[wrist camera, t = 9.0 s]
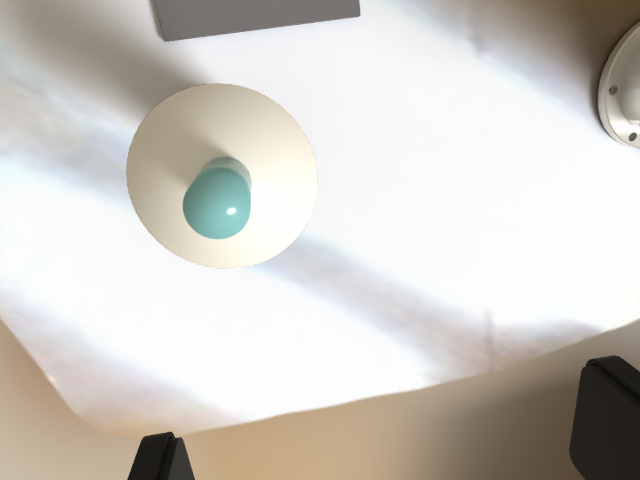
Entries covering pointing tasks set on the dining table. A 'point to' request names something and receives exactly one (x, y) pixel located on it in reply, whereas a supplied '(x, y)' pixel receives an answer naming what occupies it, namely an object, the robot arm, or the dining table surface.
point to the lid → (222, 176)
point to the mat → (245, 15)
